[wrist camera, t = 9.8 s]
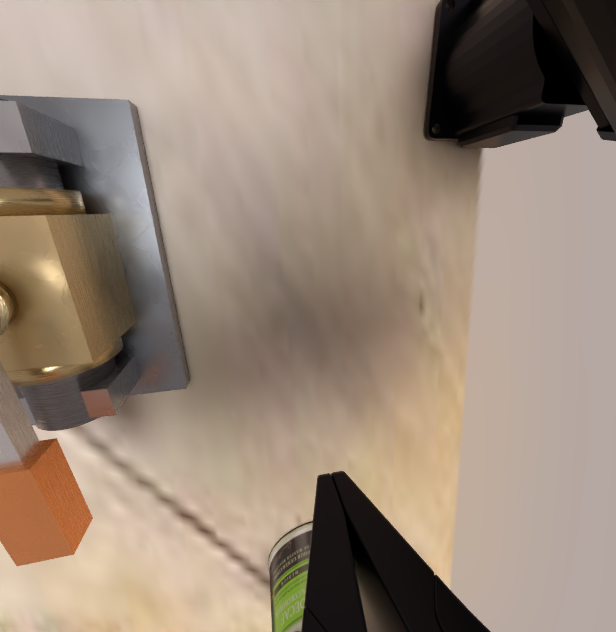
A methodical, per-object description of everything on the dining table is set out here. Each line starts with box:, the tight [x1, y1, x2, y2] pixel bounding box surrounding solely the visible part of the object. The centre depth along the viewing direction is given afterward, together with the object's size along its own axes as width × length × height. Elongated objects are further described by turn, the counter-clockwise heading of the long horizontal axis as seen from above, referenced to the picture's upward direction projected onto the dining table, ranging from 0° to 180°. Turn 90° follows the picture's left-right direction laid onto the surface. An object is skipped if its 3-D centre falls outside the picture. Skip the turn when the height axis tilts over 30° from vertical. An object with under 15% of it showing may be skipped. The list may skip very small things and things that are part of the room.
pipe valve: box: [0, 95, 190, 431], centre depth 13 cm, size 16×10×7 cm, turn 1°
